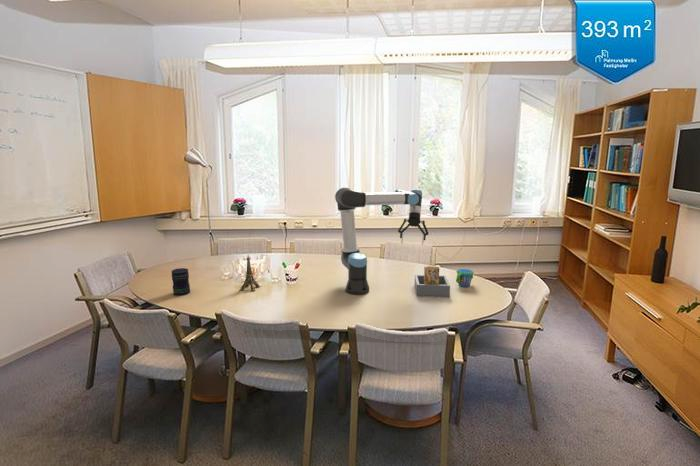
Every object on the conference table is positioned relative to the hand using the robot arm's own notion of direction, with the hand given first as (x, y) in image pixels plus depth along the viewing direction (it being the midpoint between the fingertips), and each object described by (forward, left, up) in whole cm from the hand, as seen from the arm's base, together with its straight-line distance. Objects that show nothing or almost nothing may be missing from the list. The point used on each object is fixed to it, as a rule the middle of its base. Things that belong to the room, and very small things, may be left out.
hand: (412, 244), depth 273 cm
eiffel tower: (-105, -20, -27) cm, 110 cm away
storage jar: (-145, -32, -27) cm, 151 cm away
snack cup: (+35, -2, -27) cm, 44 cm away
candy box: (+12, -15, -26) cm, 32 cm away
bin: (+12, -15, -27) cm, 33 cm away
